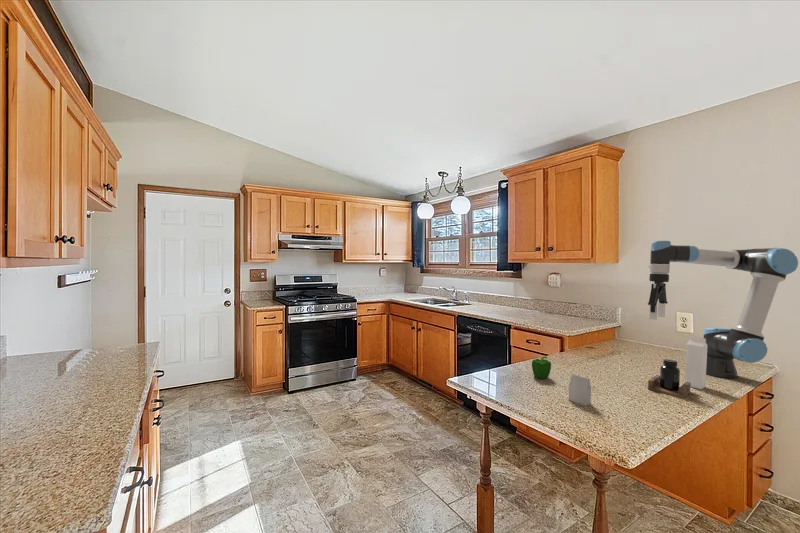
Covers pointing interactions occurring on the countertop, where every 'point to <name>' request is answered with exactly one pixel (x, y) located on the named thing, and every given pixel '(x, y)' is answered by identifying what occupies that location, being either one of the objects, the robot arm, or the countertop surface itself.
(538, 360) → the bell pepper
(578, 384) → the grey upright block
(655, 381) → the u cradle
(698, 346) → the milk
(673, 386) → the supplement bottle
